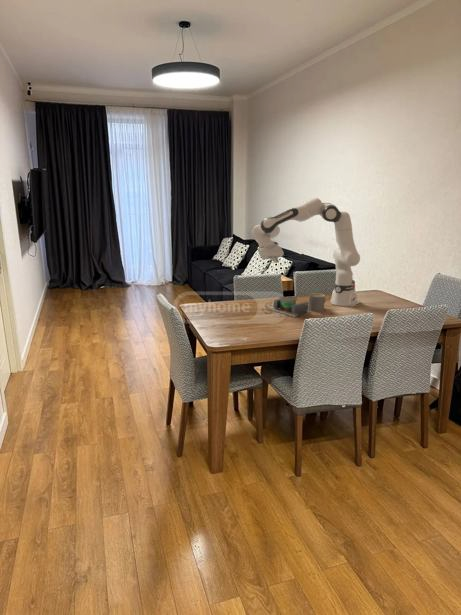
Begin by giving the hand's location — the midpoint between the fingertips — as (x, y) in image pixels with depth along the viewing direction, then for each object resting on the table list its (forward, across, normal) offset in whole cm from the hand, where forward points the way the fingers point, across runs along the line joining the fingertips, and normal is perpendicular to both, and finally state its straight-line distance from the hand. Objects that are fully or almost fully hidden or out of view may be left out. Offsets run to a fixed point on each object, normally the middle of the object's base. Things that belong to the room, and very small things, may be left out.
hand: (277, 262), depth 294 cm
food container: (+33, -6, +9) cm, 34 cm away
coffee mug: (+39, +15, +3) cm, 42 cm away
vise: (+32, -4, +10) cm, 33 cm away
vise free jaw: (+27, -4, +13) cm, 30 cm away
